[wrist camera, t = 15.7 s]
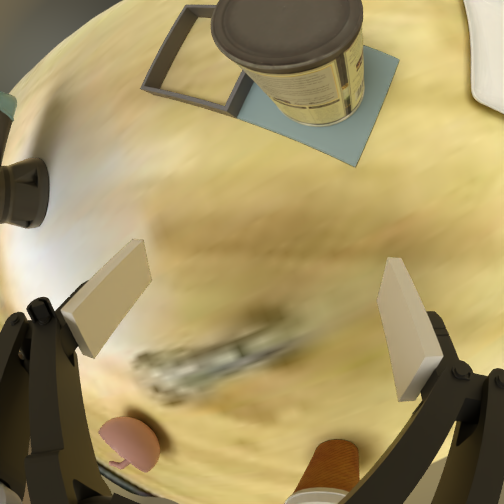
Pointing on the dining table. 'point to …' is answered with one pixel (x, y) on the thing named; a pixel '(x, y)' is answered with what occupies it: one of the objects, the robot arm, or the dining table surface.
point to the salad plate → (487, 51)
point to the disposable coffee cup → (328, 474)
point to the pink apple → (131, 442)
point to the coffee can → (297, 53)
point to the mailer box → (265, 110)
